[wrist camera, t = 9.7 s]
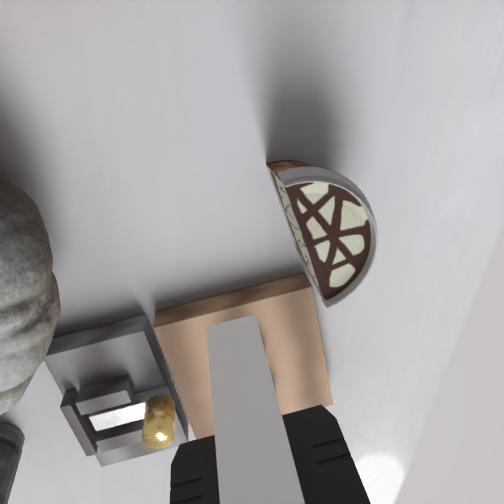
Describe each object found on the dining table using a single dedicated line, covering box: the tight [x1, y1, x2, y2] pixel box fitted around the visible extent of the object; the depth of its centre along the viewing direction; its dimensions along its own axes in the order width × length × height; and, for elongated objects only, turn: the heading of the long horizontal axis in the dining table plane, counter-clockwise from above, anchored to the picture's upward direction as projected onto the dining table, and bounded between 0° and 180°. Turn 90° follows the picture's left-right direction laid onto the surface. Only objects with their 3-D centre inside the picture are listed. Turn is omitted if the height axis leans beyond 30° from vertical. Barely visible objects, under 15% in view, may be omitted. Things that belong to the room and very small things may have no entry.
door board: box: [44, 273, 333, 467], centre depth 48 cm, size 27×16×5 cm, turn 102°
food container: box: [266, 160, 377, 308], centre depth 39 cm, size 12×6×10 cm, turn 20°
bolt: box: [89, 385, 175, 449], centre depth 44 cm, size 8×3×6 cm, turn 102°
